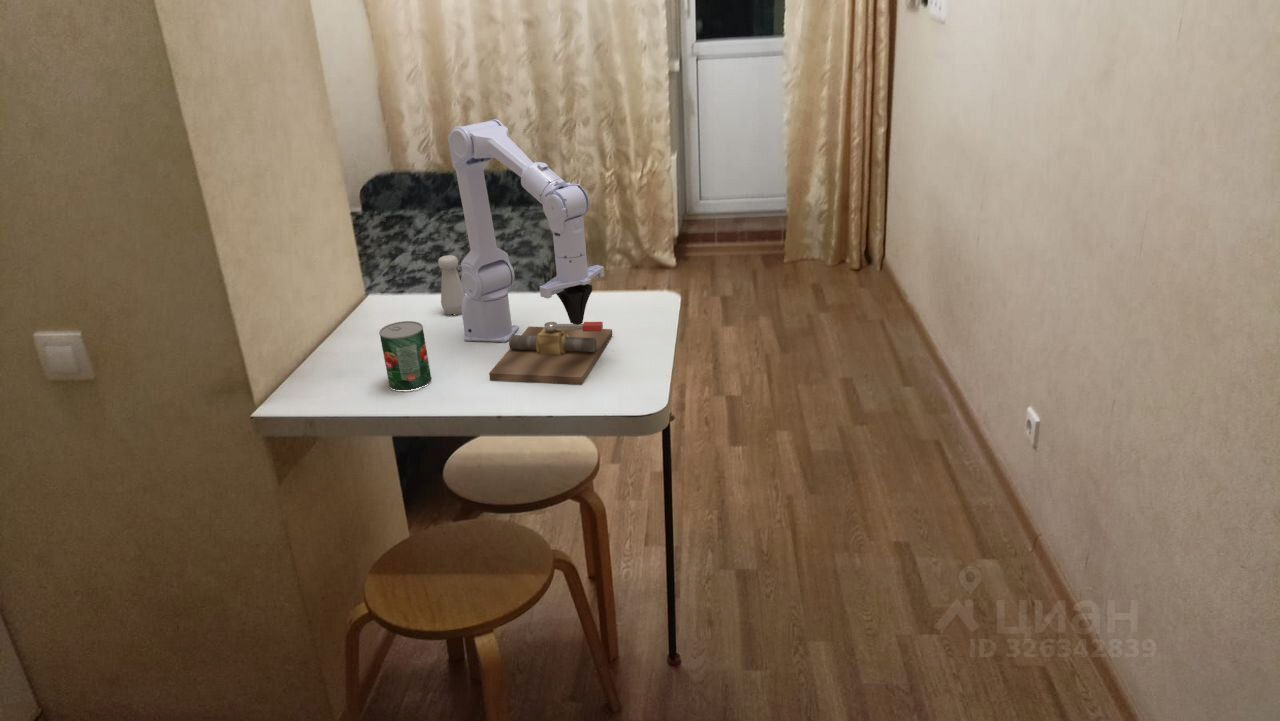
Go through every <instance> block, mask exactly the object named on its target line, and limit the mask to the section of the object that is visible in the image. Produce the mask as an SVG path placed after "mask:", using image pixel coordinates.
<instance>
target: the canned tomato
mask: <svg viewBox="0 0 1280 721" xmlns="http://www.w3.org/2000/svg"><path fill="white" fill-rule="evenodd" d="M379 337H380V343H381V348H382V353H383V359H384V364H385V369H386V375H387V379H388V387H389V386H390V387H391V388H392V389H395V390H411V389H416V388H419V387H422V386H425V385H427V384H429V383H430V382H431V383H432V381H431V380H433V379H432V375H431V369H430V364H429V363H430V362H429V357H428V353H427V352H428V350H427V344H426V343H427V342H426V339H425V333H424V325H423V324H422V323H420V322H418V321H412V320H404V321H398V322H393V323H389V324H386V325H385V326H383V327H381V329H379ZM431 383H430V384H431ZM430 384H429V385H430ZM390 387H389V388H390ZM391 388H390V389H391ZM392 389H391V390H392Z"/></svg>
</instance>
